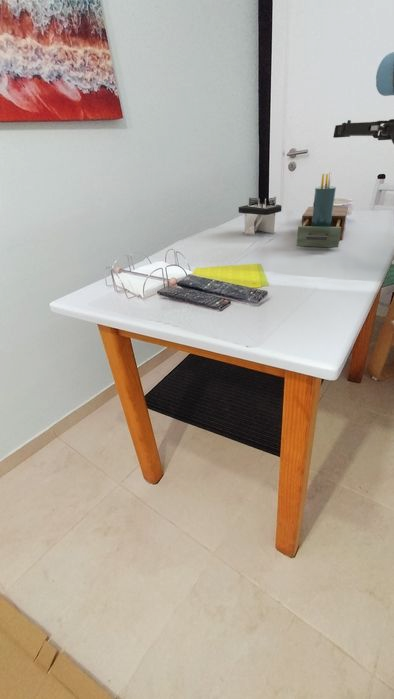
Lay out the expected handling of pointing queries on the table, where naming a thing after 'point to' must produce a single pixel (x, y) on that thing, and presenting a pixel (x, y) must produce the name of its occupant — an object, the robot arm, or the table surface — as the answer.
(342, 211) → the cabinet
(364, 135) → the robot arm
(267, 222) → the black-topped pedestal
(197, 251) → the table surface
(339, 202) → the paper bowls
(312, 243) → the drawer
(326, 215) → the straw cup
